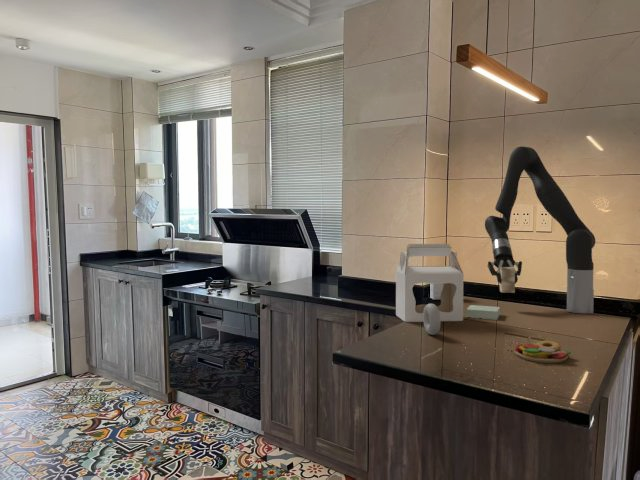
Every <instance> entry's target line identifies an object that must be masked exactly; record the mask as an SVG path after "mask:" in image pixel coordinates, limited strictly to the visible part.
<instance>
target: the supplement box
mask: <svg viewBox="0 0 640 480" xmlns="http://www.w3.org/2000/svg"><path fill="white" fill-rule="evenodd" d="M443 286H444V284H432V283H430V297H429V298H430V299H432V300H437V301H438V300H440V301H441V292H442V290H443Z"/></svg>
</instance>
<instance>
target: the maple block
mask: <svg viewBox="0 0 640 480" xmlns="http://www.w3.org/2000/svg"><path fill="white" fill-rule="evenodd" d="M515 270H516V268H515V267H514V268H513V267H500V274H501V279H502V282H501V283H499V292H500V293H504V294H505V293H507V294H509V293H511V294H515V293H516V288H515V286H516V285H515Z"/></svg>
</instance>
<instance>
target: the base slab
mask: <svg viewBox="0 0 640 480" xmlns="http://www.w3.org/2000/svg"><path fill="white" fill-rule="evenodd" d="M500 312H501V307H500V306H489V305H488V306H487V305H474V304H470V305H469V306H467V308H466V309H465V318H467V317H471V318H470V319H479V318H482V319H483V320H493V321H494V320H495V321H497V320H498V319H499V317H500V315H501V313H500ZM482 319H481V320H482Z"/></svg>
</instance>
